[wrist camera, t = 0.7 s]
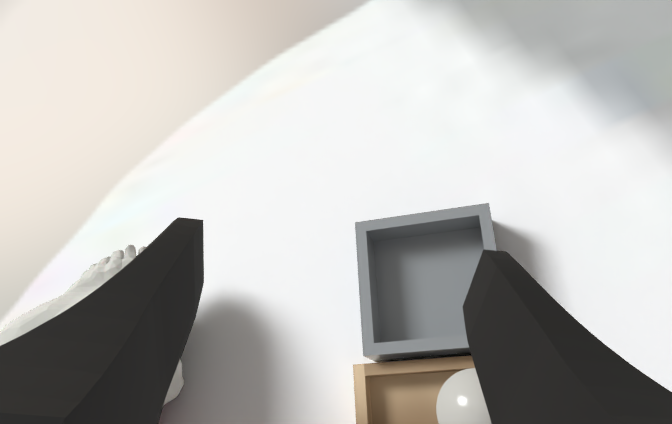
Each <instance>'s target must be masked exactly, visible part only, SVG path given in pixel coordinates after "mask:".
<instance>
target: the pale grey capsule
mask: <svg viewBox="0 0 672 424" xmlns="http://www.w3.org/2000/svg"><path fill="white" fill-rule="evenodd" d="M436 414H437V419H438V423H439V424H491V420H490V416H489V413H488V409H487V406H486V403H485V399H484V396H483V393H482V389H481V386H480V383H479V379H478V376H477V373H476V369H475V368H470V369H465V370H461V371H459V372H457V373H455V374H454V375H452V376H451V377H450V378H449V379H448V380H447V381H446V382H445V383H444V385H443V386H442V388H441V390H440V392H439V395H438V398H437V404H436Z"/></svg>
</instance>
